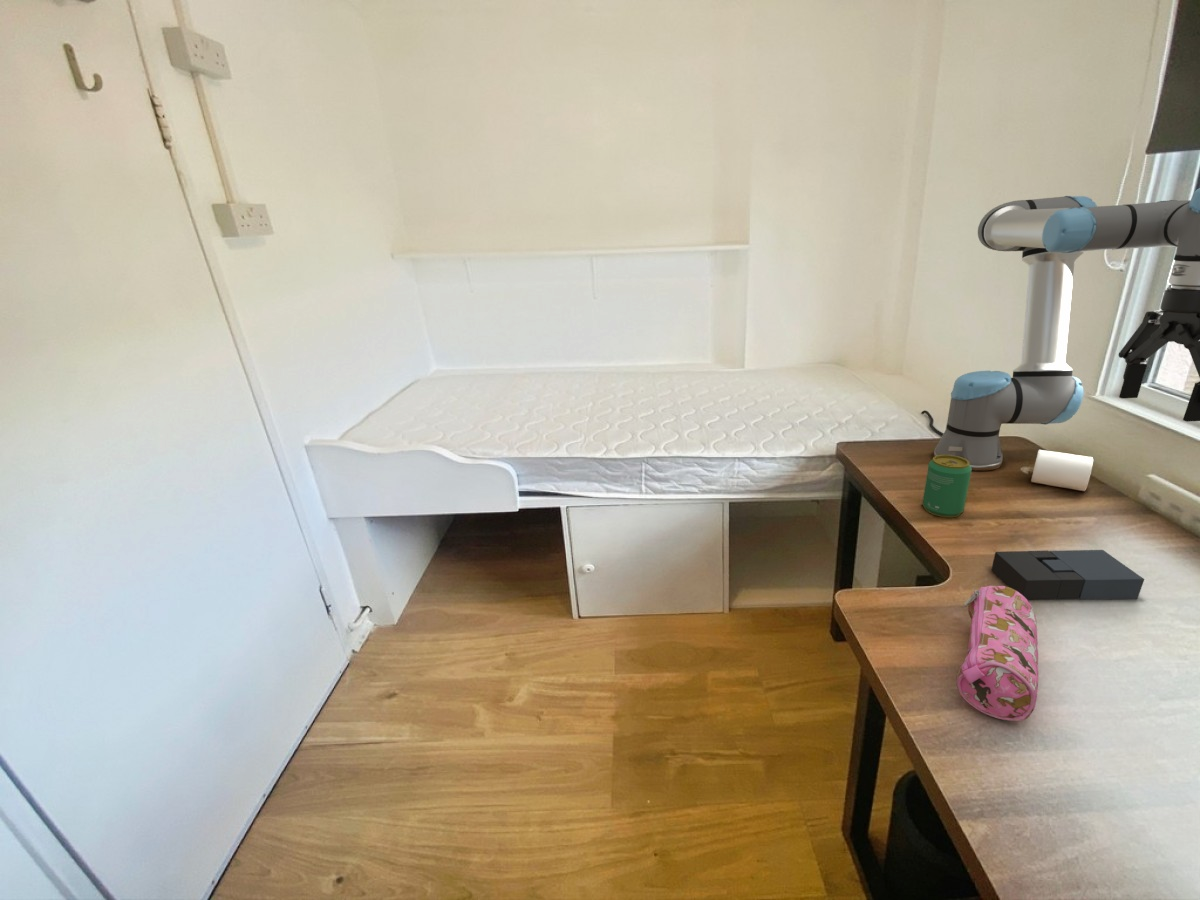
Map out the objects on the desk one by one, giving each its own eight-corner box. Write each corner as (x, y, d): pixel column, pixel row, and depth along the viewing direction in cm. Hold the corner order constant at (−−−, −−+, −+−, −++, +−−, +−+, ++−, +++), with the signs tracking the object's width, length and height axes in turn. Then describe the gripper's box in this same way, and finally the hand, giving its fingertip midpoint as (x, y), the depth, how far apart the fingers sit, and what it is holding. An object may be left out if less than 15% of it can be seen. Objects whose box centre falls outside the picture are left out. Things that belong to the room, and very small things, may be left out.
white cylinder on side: (1084, 496, 125) (1093, 464, 122) (1029, 486, 131) (1036, 455, 128) (1085, 477, 133) (1094, 447, 130) (1034, 469, 139) (1040, 439, 136)
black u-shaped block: (991, 569, 102) (995, 551, 101) (1042, 569, 102) (1047, 550, 100) (1021, 600, 94) (1026, 580, 93) (1078, 599, 93) (1084, 579, 92)
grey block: (1026, 569, 102) (1031, 550, 100) (1097, 568, 101) (1102, 549, 99) (1060, 599, 93) (1066, 580, 92) (1137, 599, 92) (1144, 579, 91)
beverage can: (971, 513, 121) (981, 463, 117) (944, 521, 119) (953, 471, 115) (940, 498, 129) (948, 451, 124) (913, 506, 126) (921, 458, 122)
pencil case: (959, 619, 91) (969, 573, 88) (1029, 638, 86) (1042, 590, 83) (949, 710, 75) (960, 658, 71) (1035, 739, 70) (1051, 685, 66)
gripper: (1113, 281, 103) (1085, 390, 111) (1248, 296, 80) (1200, 432, 88) (1157, 278, 103) (1125, 388, 111) (1305, 293, 80) (1252, 430, 87)
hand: (1158, 408), depth 99 cm, fingers open, 13 cm apart
